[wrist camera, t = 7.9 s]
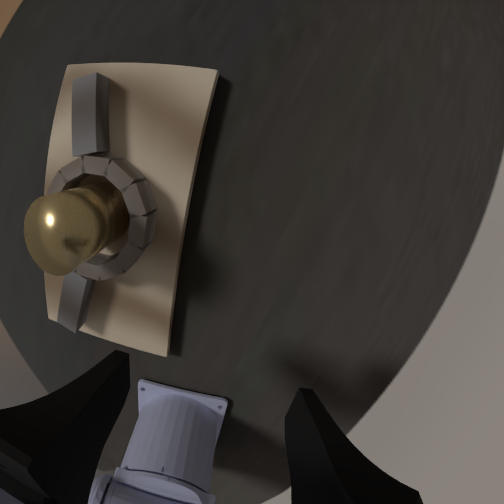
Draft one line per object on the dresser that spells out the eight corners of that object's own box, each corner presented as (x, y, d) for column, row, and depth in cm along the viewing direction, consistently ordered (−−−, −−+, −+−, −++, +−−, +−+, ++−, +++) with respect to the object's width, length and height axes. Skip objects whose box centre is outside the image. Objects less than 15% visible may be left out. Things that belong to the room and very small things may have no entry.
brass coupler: (127, 247, 18) (82, 284, 12) (78, 235, 18) (25, 265, 12) (135, 187, 17) (85, 202, 11) (83, 177, 16) (25, 190, 11)
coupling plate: (169, 349, 22) (160, 373, 19) (54, 313, 21) (36, 330, 18) (219, 74, 16) (213, 59, 13) (74, 68, 15) (52, 58, 12)
